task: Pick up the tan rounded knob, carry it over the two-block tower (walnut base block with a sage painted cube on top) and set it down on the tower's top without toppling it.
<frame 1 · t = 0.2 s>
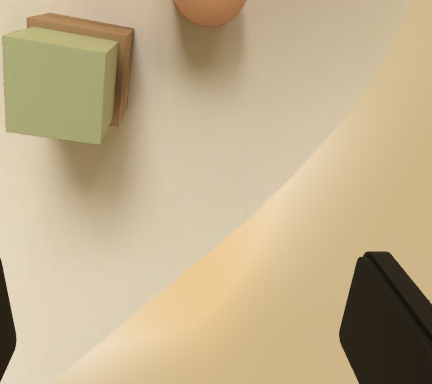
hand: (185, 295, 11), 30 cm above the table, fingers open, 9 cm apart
sage cube: (75, 75, 31), point 6 cm above the table, touching walnut base block
walnut base block: (90, 62, 37), on the table, touching sage cube
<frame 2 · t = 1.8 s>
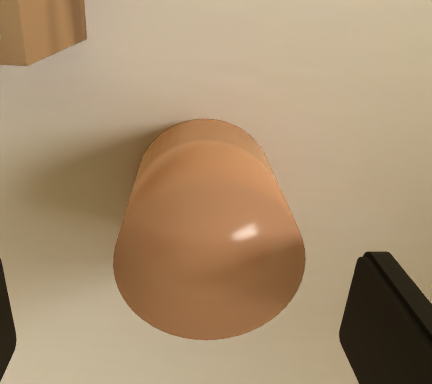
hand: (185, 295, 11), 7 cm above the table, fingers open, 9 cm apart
tan rounded knob: (204, 183, 17), on the table
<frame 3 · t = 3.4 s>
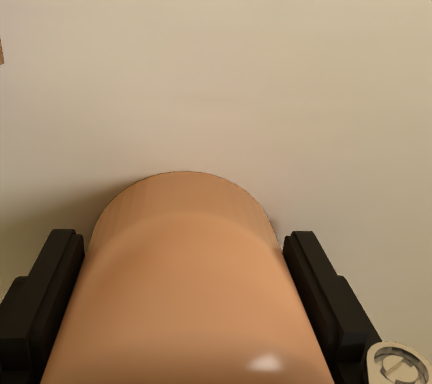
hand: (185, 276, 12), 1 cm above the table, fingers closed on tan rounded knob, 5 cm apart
tan rounded knob: (184, 255, 13), on the table, touching gripper
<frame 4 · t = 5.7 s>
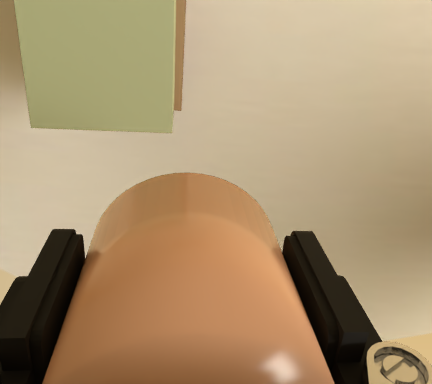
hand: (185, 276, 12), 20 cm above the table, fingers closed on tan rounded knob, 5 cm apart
tan rounded knob: (185, 256, 13), point 19 cm above the table, touching gripper
sage cube: (118, 42, 22), point 6 cm above the table, touching walnut base block
walnut base block: (130, 32, 27), on the table, touching sage cube
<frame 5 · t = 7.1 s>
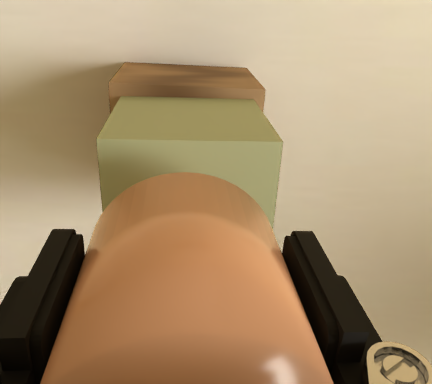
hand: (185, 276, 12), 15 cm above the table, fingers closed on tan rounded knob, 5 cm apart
tan rounded knob: (184, 256, 13), point 14 cm above the table, touching gripper
sage cube: (187, 159, 20), point 6 cm above the table, touching walnut base block
walnut base block: (184, 123, 25), on the table, touching sage cube
when the fingers open (14 cm above the table, at t = 8.2 s): tan rounded knob stays where it is, resting on sage cube.
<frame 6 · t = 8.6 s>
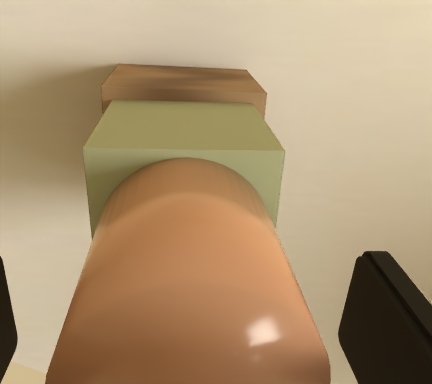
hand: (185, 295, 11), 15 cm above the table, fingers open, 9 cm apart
tan rounded knob: (185, 237, 14), point 12 cm above the table, touching sage cube
sage cube: (183, 166, 19), point 6 cm above the table, touching tan rounded knob, walnut base block
walnut base block: (182, 127, 24), on the table, touching sage cube
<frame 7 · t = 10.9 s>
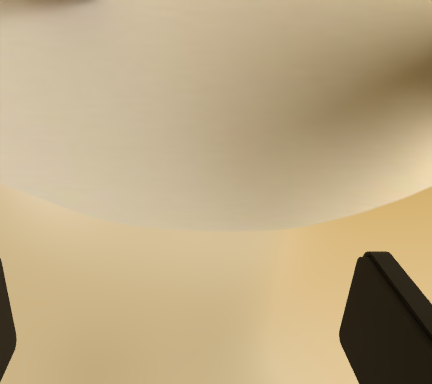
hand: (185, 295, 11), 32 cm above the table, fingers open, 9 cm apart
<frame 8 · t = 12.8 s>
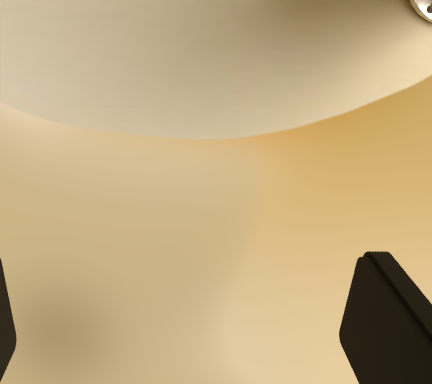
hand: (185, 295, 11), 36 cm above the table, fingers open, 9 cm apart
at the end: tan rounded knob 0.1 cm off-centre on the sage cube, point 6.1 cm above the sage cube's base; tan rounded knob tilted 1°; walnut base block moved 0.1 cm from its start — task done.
